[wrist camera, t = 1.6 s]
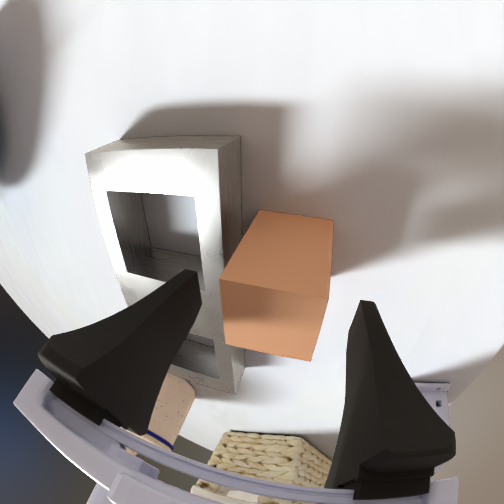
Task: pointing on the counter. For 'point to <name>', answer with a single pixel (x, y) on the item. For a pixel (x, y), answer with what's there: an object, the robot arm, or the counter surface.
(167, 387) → the teacup with lid
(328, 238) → the orange brown block
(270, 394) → the counter surface
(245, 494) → the storage basket
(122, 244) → the grey slotted board
